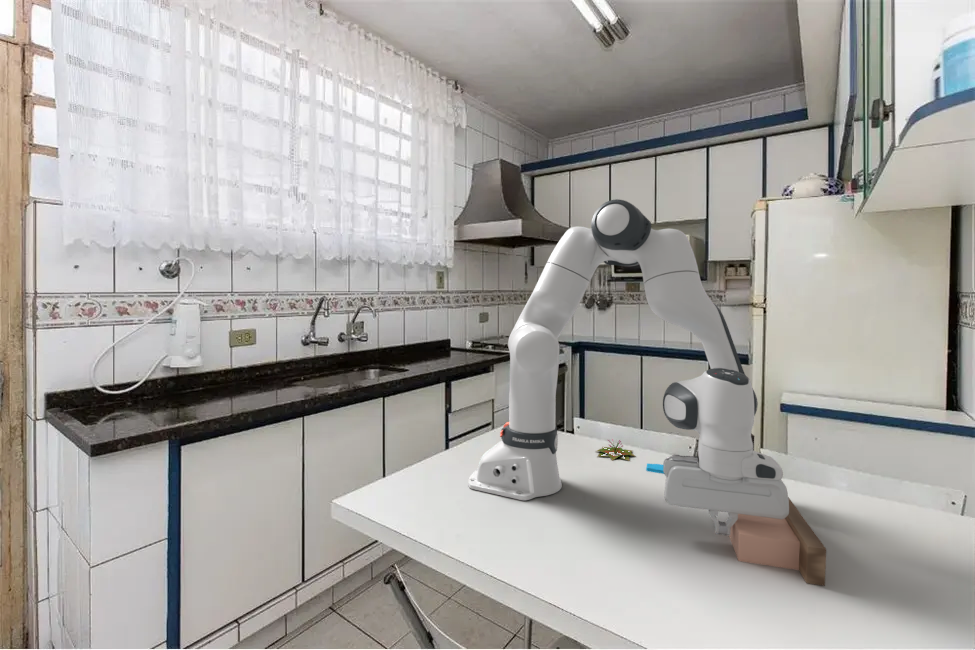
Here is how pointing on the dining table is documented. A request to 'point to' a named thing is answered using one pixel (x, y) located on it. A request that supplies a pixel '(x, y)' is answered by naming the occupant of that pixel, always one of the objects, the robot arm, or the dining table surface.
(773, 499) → the robot arm
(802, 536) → the walnut board
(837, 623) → the dining table surface
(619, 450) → the lily flower
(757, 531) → the terracotta block
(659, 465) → the sponge
